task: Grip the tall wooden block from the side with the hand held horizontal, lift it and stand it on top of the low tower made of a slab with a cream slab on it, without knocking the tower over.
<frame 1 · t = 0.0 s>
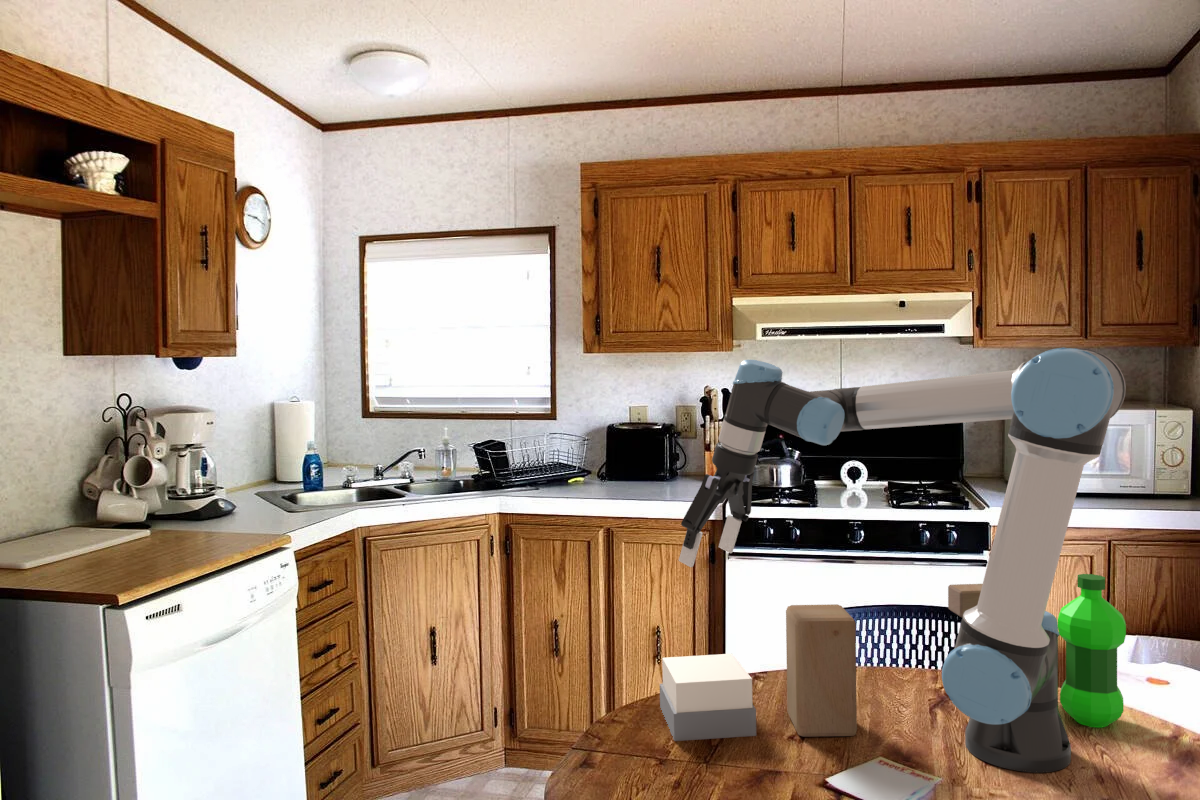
hand: (706, 556, 157), 28 cm above the table, tool tilted 20°, fingers open, 13 cm apart
wooden block: (821, 727, 149), on the table
plastic bottle: (1091, 722, 149), on the table
tower base: (706, 723, 152), on the table, touching tower top
decorative block: (983, 693, 162), on the table
tower top: (705, 695, 152), point 5 cm above the table, touching tower base
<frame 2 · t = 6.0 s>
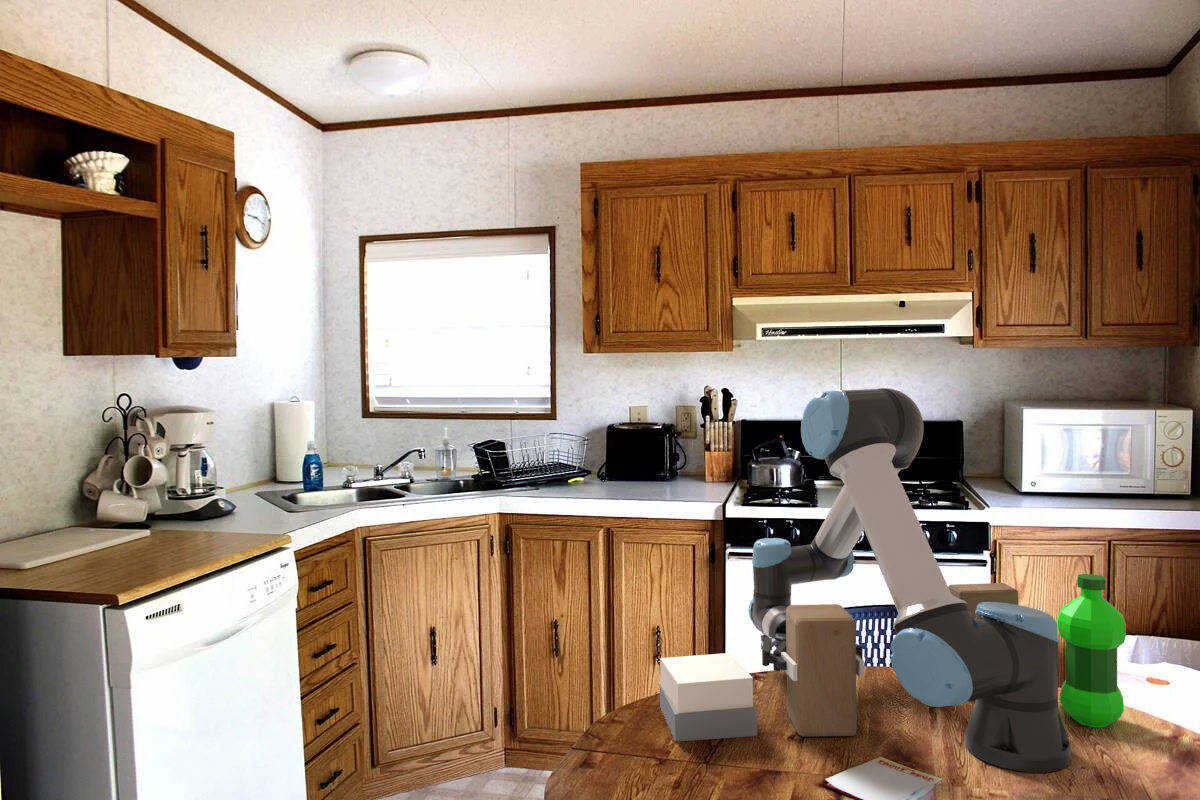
hand: (828, 671, 145), 11 cm above the table, tool horizontal, fingers closed on wooden block, 11 cm apart
wooden block: (821, 727, 149), on the table, touching gripper
everything else where it was.
when the fingers open (23 cm above the table, at t = 12.4 s): wooden block drops 2 cm, point 10 cm above the table.
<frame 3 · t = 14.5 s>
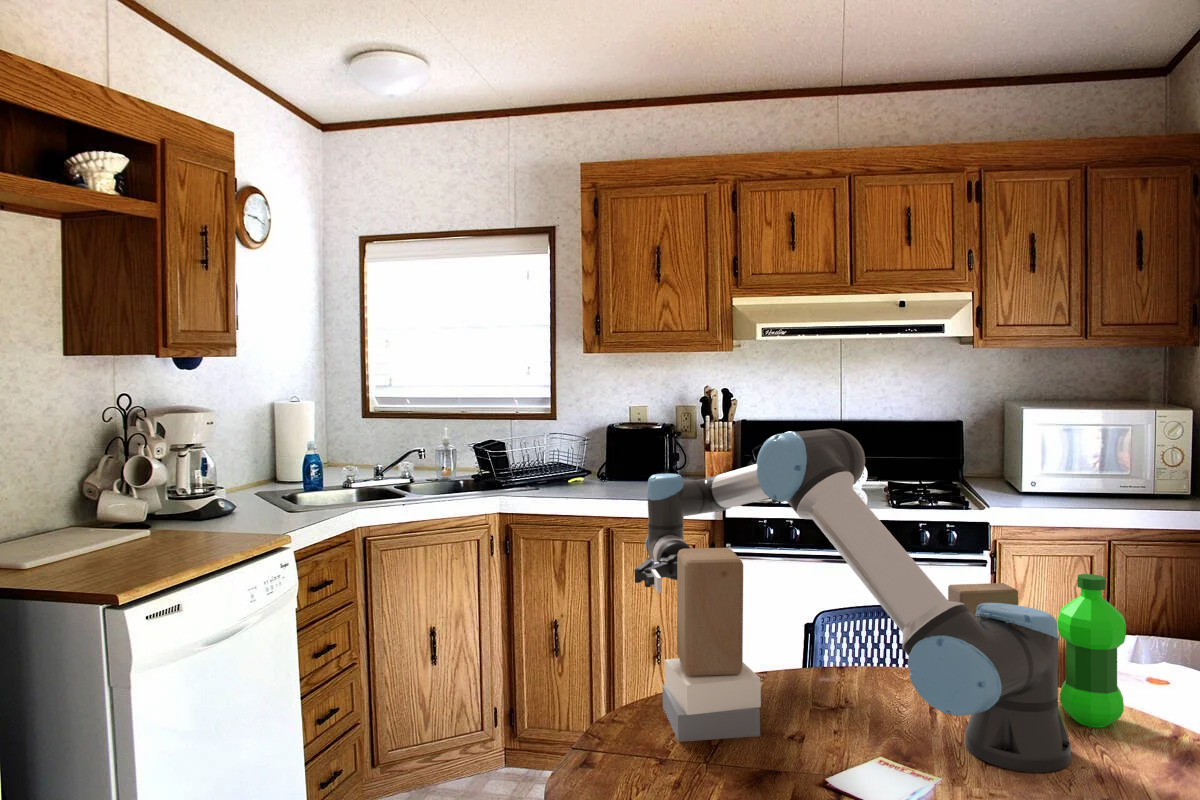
hand: (697, 583, 155), 24 cm above the table, tool horizontal, fingers open, 13 cm apart
wooden block: (708, 667, 152), point 10 cm above the table, touching gripper
tower top: (711, 696, 152), point 4 cm above the table, touching tower base
everything else where it was.
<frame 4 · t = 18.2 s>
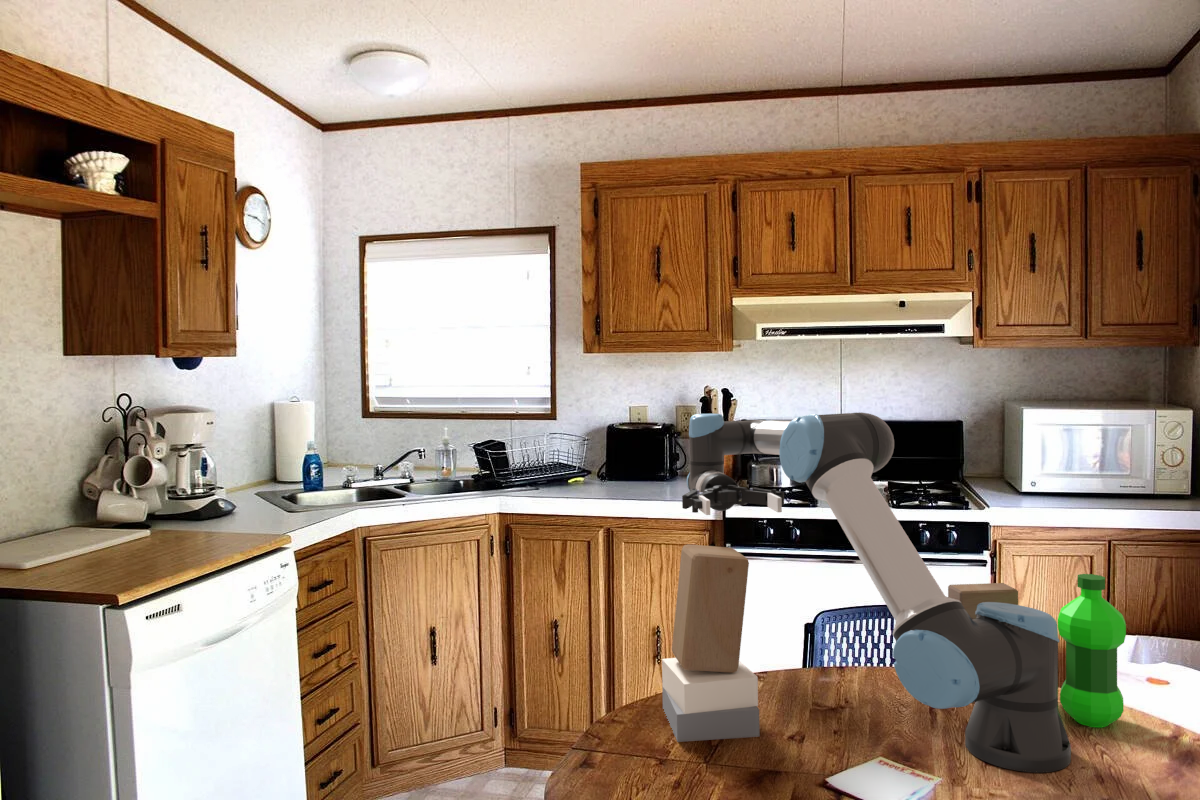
hand: (744, 506, 161), 36 cm above the table, tool horizontal, fingers open, 13 cm apart
wooden block: (703, 664, 152), point 10 cm above the table, touching tower top
tower top: (708, 695, 152), point 5 cm above the table, touching tower base, wooden block
everything else where it was.
at the end: wooden block 0.9 cm off-centre on the tower top, point 5.0 cm above the tower top's base; wooden block tilted 2°; tower top 0.1 cm off-centre on the tower base, point 5.0 cm above the tower base's base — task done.
